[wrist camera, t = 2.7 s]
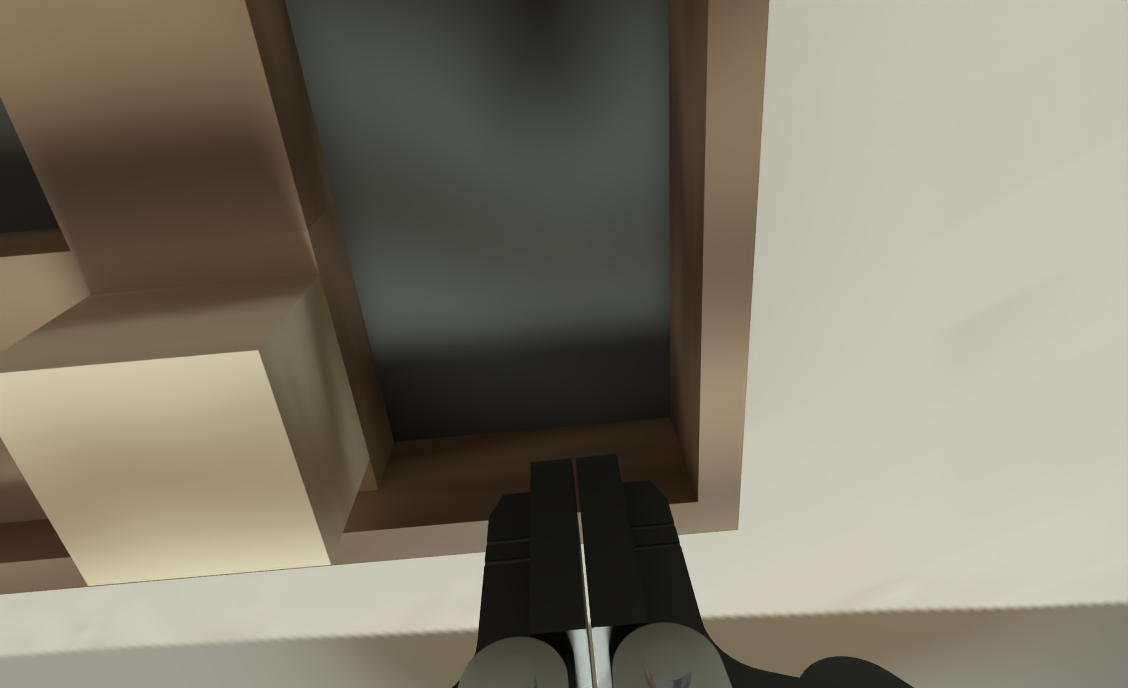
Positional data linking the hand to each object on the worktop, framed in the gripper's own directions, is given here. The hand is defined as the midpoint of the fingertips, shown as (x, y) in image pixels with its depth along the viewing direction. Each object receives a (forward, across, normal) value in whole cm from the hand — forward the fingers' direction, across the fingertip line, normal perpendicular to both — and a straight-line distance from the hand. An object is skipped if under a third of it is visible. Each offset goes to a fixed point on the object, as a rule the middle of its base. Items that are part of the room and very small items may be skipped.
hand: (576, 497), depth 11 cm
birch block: (+4, +8, -1) cm, 9 cm away
